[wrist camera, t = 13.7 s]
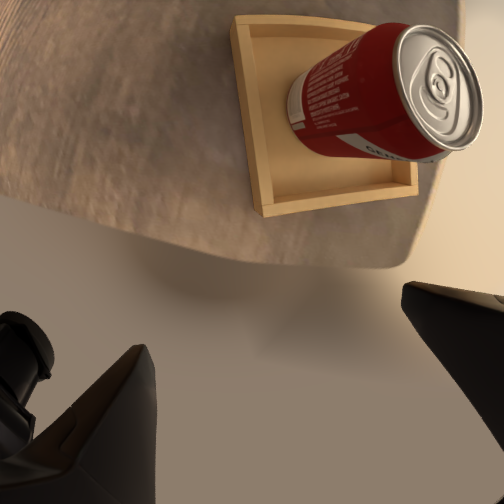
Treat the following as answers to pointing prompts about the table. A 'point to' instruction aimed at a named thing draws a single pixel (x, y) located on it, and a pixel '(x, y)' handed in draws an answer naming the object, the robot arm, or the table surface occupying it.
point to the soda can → (389, 97)
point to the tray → (278, 129)
